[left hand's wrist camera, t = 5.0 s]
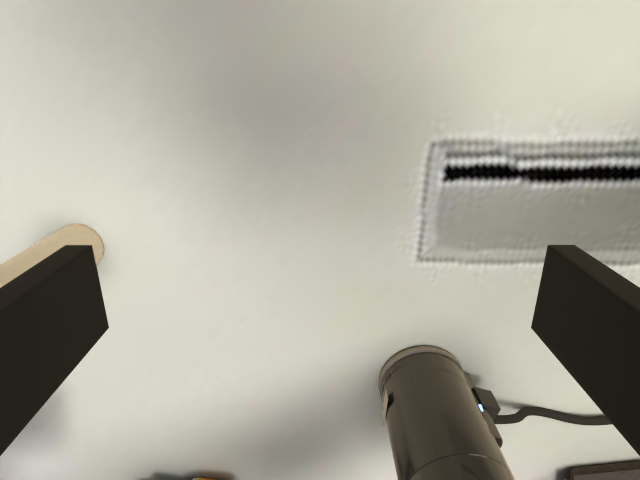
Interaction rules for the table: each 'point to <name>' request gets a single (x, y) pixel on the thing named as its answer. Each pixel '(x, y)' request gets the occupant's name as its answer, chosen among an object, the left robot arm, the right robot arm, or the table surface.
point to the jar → (50, 250)
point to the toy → (607, 472)
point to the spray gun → (201, 479)
